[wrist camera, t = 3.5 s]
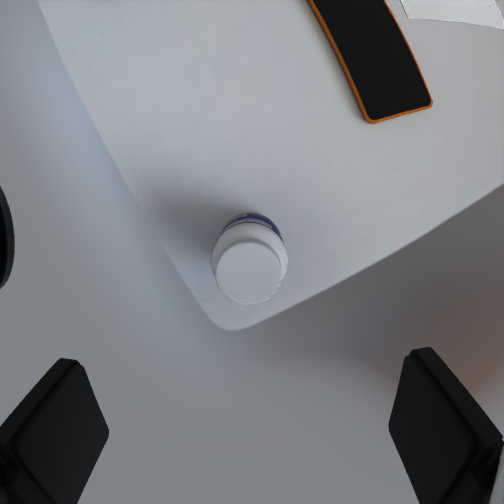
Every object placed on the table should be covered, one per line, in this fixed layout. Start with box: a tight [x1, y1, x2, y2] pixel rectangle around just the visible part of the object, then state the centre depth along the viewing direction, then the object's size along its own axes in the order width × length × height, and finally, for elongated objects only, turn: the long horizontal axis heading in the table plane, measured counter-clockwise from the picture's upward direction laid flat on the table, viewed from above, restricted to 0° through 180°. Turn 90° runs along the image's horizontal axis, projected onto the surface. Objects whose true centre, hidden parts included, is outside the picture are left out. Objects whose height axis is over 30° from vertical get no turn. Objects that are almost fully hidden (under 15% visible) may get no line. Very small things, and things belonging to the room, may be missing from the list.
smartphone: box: [308, 0, 433, 124], centre depth 22 cm, size 8×17×1 cm, turn 22°
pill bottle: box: [211, 213, 288, 305], centre depth 23 cm, size 5×5×9 cm
